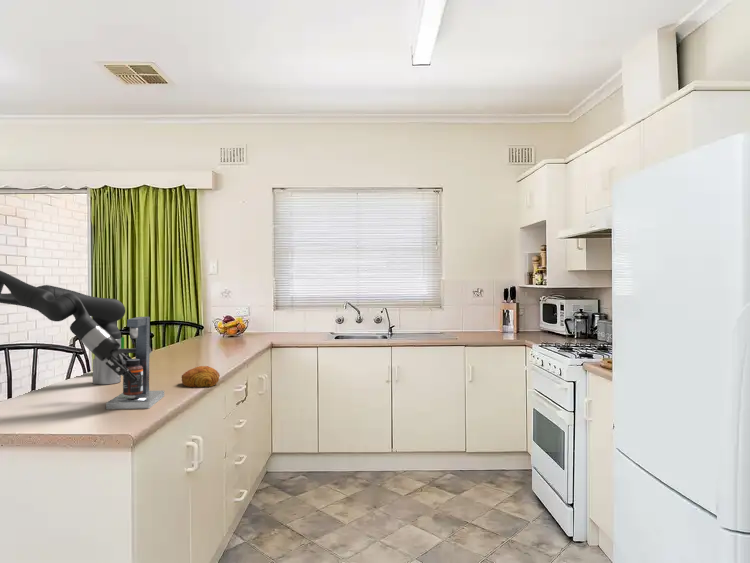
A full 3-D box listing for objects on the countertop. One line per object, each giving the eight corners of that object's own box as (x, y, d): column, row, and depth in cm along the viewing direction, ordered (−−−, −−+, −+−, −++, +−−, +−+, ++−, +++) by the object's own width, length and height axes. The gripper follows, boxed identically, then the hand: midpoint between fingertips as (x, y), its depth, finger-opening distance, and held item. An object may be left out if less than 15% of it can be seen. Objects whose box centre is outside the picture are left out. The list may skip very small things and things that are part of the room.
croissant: (218, 385, 221) (219, 365, 222) (219, 387, 206) (220, 366, 207) (181, 386, 217) (182, 366, 218) (179, 388, 202) (180, 366, 203)
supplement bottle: (146, 393, 177) (147, 359, 177) (131, 396, 172) (132, 361, 172) (133, 391, 180) (134, 357, 180) (118, 394, 174) (119, 360, 174)
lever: (91, 356, 185) (91, 346, 185) (95, 355, 188) (95, 345, 188) (148, 356, 187) (148, 346, 187) (151, 355, 190) (151, 344, 190)
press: (106, 409, 170) (106, 320, 169) (125, 396, 187) (126, 316, 187) (149, 408, 171) (149, 320, 171) (164, 396, 189) (164, 316, 189)
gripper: (100, 348, 181) (137, 383, 183) (82, 354, 167) (122, 392, 169) (117, 332, 182) (153, 367, 184) (101, 337, 168) (140, 375, 169)
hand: (138, 379), depth 176 cm, fingers closed on supplement bottle, 6 cm apart
